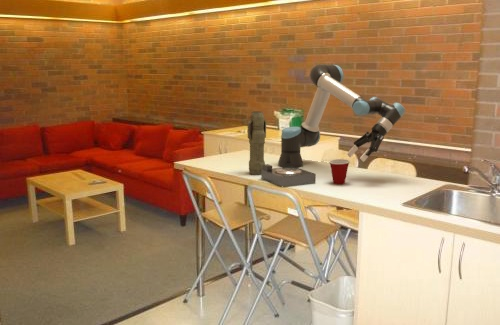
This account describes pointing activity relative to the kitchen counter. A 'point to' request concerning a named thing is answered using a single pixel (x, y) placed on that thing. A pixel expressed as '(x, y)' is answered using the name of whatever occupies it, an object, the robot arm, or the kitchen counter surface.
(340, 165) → the plastic cup
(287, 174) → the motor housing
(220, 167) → the kitchen counter surface
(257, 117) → the brown tall upright piece
